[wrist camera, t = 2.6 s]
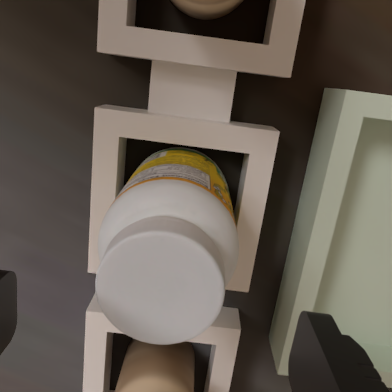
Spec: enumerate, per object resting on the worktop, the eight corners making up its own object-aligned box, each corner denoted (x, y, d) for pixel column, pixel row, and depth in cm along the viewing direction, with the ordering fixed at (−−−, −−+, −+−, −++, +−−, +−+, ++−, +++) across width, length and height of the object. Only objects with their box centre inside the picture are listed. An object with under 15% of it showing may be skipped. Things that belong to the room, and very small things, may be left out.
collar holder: (119, -164, 16) (107, -198, 14) (321, -135, 16) (337, -164, 14) (90, 401, 25) (81, 428, 23) (217, 416, 25) (218, 444, 23)
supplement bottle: (138, 136, 19) (79, 190, 10) (238, 155, 20) (267, 224, 10) (125, 230, 21) (65, 348, 12) (218, 247, 21) (228, 375, 12)
